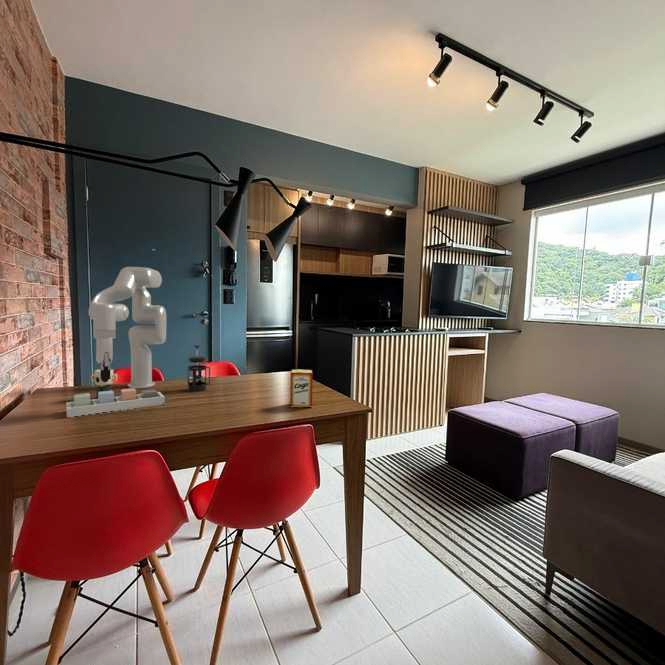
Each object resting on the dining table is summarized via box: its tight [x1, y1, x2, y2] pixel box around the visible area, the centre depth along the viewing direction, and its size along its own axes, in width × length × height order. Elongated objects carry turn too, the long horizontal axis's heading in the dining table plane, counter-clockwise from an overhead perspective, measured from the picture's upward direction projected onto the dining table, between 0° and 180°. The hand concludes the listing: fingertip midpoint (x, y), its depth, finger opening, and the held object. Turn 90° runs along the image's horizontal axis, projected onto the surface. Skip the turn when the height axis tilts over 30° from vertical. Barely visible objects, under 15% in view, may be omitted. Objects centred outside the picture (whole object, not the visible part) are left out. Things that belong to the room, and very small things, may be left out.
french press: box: [186, 344, 211, 393], centre depth 179 cm, size 12×9×23 cm
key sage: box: [73, 392, 91, 407], centre depth 139 cm, size 5×5×4 cm
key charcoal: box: [141, 389, 158, 399], centre depth 154 cm, size 5×5×4 cm
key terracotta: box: [120, 388, 137, 401], centre depth 149 cm, size 5×5×4 cm
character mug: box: [90, 368, 118, 399], centre depth 159 cm, size 11×7×13 cm, turn 100°
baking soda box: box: [289, 368, 314, 407], centre depth 156 cm, size 10×6×16 cm
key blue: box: [98, 389, 115, 404], centre depth 144 cm, size 5×5×4 cm
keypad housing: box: [65, 391, 166, 418], centre depth 146 cm, size 10×34×4 cm, turn 128°
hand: (105, 379), depth 143 cm, fingers closed
